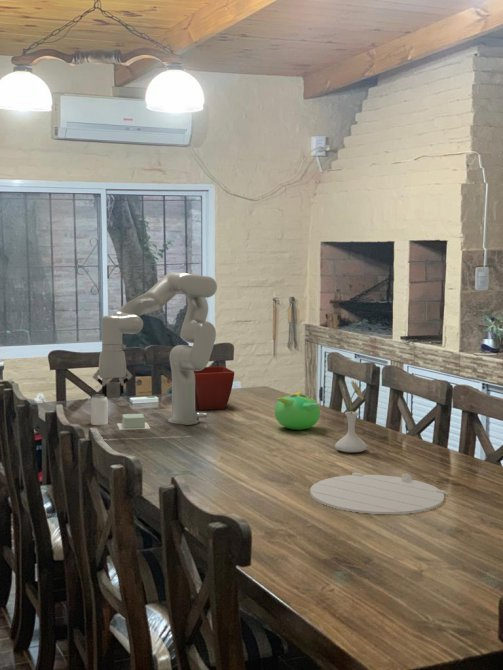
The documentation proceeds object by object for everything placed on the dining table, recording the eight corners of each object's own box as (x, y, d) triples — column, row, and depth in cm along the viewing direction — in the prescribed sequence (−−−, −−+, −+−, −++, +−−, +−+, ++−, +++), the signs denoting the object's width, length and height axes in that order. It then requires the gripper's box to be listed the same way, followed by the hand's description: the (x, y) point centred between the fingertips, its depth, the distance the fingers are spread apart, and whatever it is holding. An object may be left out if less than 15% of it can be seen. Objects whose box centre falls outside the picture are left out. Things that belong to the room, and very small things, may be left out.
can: (106, 427, 357) (105, 397, 356) (89, 427, 357) (89, 397, 356) (109, 424, 364) (108, 394, 362) (92, 423, 364) (92, 394, 363)
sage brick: (142, 423, 361) (142, 413, 361) (144, 427, 354) (144, 417, 353) (122, 424, 360) (122, 414, 359) (124, 428, 352) (124, 418, 351)
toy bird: (320, 425, 365) (321, 389, 364) (319, 434, 348) (320, 397, 347) (275, 424, 367) (276, 388, 365) (272, 433, 350) (273, 395, 349)
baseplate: (146, 424, 364) (146, 422, 364) (150, 430, 352) (150, 428, 352) (116, 425, 361) (116, 423, 361) (119, 431, 350) (119, 429, 349)
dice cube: (106, 398, 341) (106, 385, 340) (105, 395, 346) (105, 382, 345) (120, 397, 342) (120, 384, 342) (118, 395, 347) (118, 382, 346)
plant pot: (182, 404, 408) (182, 367, 406) (223, 402, 414) (223, 366, 412) (192, 412, 390) (192, 373, 388) (234, 410, 396) (235, 372, 394)
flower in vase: (365, 455, 316) (367, 384, 313) (333, 453, 318) (334, 383, 315) (368, 447, 328) (370, 379, 326) (337, 445, 330) (338, 377, 328)
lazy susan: (358, 471, 296) (358, 460, 296) (468, 493, 271) (469, 482, 271) (283, 497, 265) (283, 485, 265) (400, 525, 241) (401, 512, 240)
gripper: (133, 346, 347) (134, 393, 349) (88, 347, 343) (89, 394, 345) (136, 348, 340) (136, 396, 342) (89, 350, 336) (90, 398, 338)
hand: (112, 395), depth 344 cm, fingers closed on dice cube, 5 cm apart
